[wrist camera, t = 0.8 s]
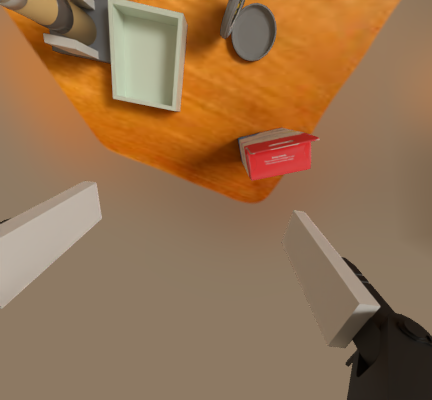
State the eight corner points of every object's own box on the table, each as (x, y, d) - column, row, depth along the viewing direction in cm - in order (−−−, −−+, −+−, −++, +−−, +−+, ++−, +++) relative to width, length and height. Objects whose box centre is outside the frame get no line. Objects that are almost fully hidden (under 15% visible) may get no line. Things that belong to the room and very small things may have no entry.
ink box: (241, 162, 37) (253, 190, 23) (237, 137, 35) (247, 151, 21) (285, 152, 36) (322, 176, 22) (283, 126, 34) (323, 134, 20)
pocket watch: (273, 59, 29) (297, 35, 20) (221, 65, 30) (221, 45, 21) (276, -12, 26) (305, -78, 17) (217, -3, 27) (214, -63, 17)
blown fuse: (66, 6, 26) (-43, -69, 15) (95, 13, 26) (8, -56, 16) (70, 42, 28) (-25, -2, 17) (98, 48, 28) (21, 8, 17)
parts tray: (121, 10, 27) (107, -4, 24) (187, 25, 28) (183, 13, 25) (123, 100, 32) (113, 98, 29) (180, 111, 33) (175, 111, 30)
